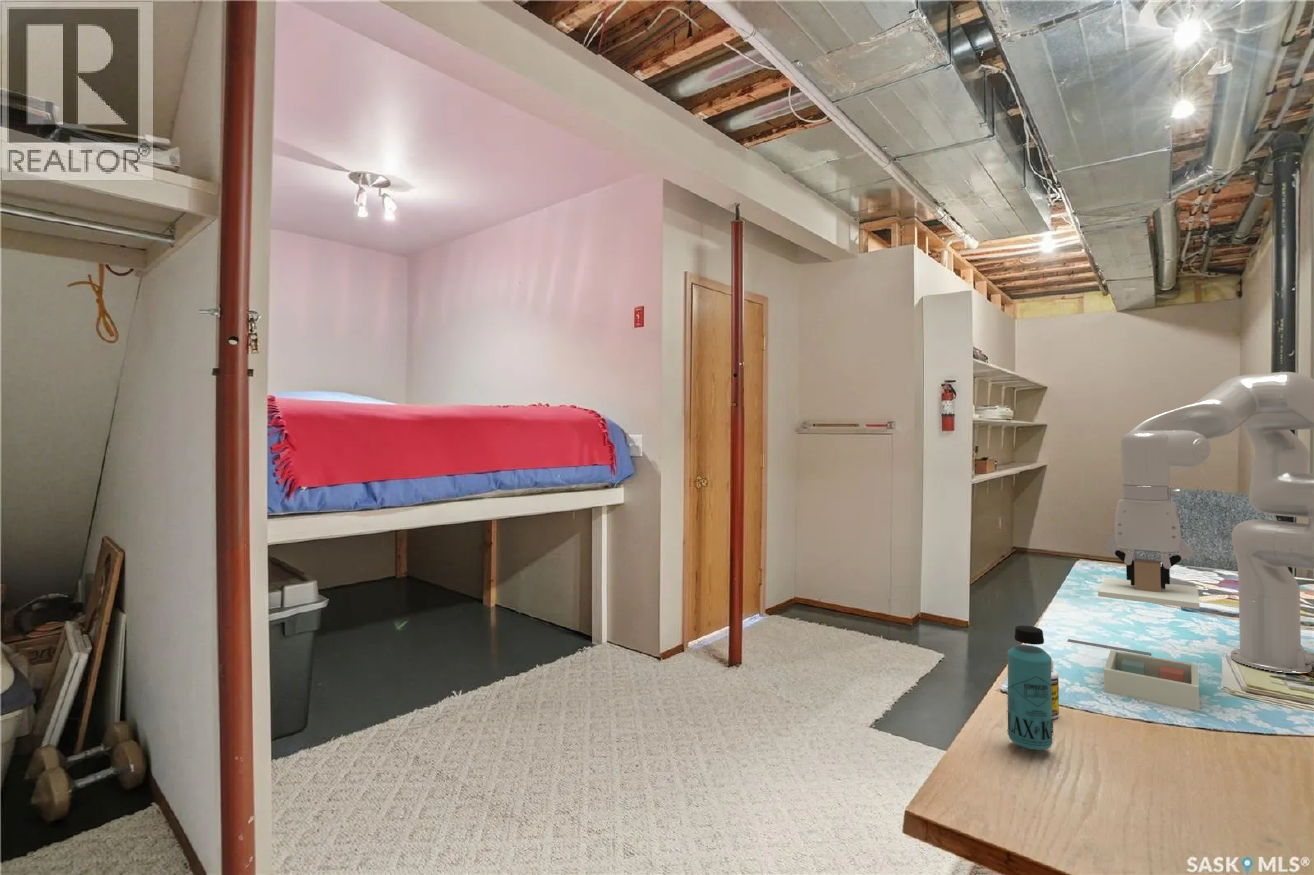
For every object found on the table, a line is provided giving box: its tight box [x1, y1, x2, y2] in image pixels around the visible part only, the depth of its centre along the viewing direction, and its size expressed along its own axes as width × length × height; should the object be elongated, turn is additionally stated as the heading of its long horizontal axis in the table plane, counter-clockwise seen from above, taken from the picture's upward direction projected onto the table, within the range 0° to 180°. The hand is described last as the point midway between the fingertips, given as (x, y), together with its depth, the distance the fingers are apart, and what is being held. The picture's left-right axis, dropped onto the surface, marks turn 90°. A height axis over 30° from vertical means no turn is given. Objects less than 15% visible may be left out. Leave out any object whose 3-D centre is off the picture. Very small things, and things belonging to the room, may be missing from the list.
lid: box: [1097, 558, 1201, 609], centre depth 122 cm, size 15×15×6 cm
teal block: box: [1121, 659, 1145, 675], centre depth 125 cm, size 4×4×4 cm
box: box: [1103, 649, 1200, 713], centre depth 121 cm, size 14×14×5 cm
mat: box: [1067, 638, 1152, 657], centre depth 140 cm, size 16×16×1 cm
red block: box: [1159, 666, 1184, 683], centre depth 121 cm, size 4×4×4 cm
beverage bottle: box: [1006, 625, 1054, 751], centre depth 100 cm, size 6×7×20 cm
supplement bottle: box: [1051, 659, 1060, 720], centre depth 113 cm, size 6×6×10 cm
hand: (1148, 584), depth 122 cm, fingers closed on lid, 4 cm apart
